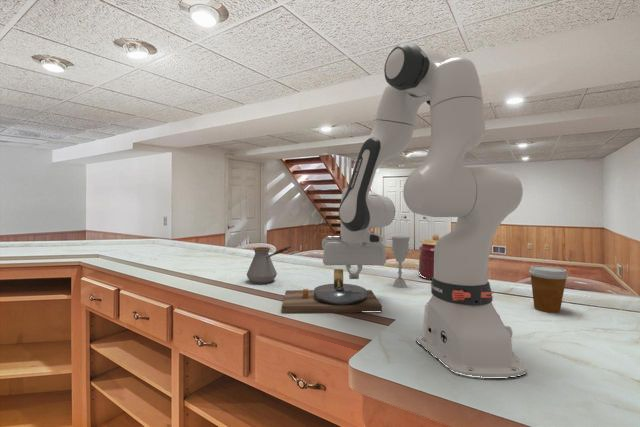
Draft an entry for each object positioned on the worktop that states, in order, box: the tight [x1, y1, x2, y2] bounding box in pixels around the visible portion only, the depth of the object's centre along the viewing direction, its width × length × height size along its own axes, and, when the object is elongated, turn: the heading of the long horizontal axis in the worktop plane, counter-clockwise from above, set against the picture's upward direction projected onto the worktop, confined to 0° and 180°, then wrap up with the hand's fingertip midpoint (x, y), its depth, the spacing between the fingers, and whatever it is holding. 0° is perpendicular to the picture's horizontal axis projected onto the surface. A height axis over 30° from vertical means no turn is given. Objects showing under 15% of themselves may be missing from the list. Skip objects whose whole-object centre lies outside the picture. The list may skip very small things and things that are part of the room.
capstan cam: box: [313, 268, 368, 305], centre depth 102 cm, size 16×16×7 cm
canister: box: [418, 234, 440, 280], centre depth 137 cm, size 13×13×18 cm
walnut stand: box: [281, 288, 383, 314], centre depth 102 cm, size 16×28×4 cm, turn 92°
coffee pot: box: [246, 245, 294, 285], centre depth 126 cm, size 21×12×15 cm, turn 51°
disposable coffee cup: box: [528, 265, 569, 314], centre depth 98 cm, size 10×10×12 cm
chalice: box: [390, 235, 411, 288], centre depth 123 cm, size 7×7×18 cm
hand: (353, 278), depth 108 cm, fingers closed
